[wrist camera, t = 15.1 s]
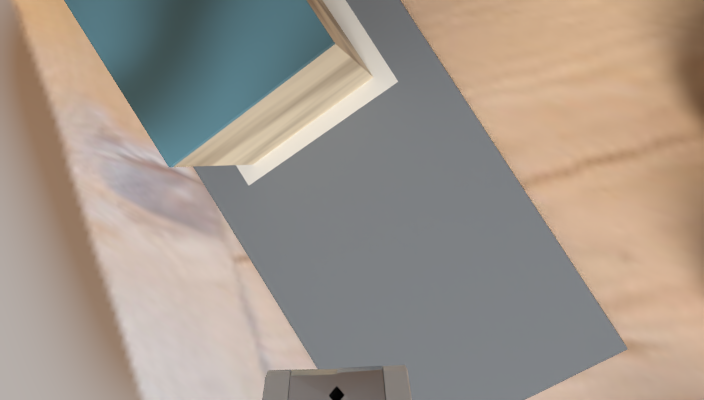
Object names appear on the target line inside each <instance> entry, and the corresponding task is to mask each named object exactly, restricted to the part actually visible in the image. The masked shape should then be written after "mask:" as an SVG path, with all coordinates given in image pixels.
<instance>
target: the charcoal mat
mask: <svg viewBox="0 0 704 400" xmlns="http://www.w3.org/2000/svg"><path fill="white" fill-rule="evenodd" d="M323 2H324V3H325V5H326V6H327V8H328V9H329V11H330V12H331V14H332V15H333V17H334V18H335V20H336V21H337V23H338V24H339V26H340V27H341V29H342V30H343V32H344V33H345V35H346V36H347V38H348V39H349V41H350V42H351V44H352V45H353V47H354V48H355V50H356V51H357V53H358V55H359V56H360V58H361V59H362V61H363V62H364V64H365V65H366V67H367V68H368V70H369V71H370V73H371V74H372V76H373V78H372V79H370V80H369V81H368V82H366V83H365V84H363V85H362V86H361V87H359V88H358V89H357V90H355V91H354V92H352V93H351V94H350V95H348V96H347V97H345V98H344V99H343V100H341V101H340V102H339V103H337V104H336V105H334V106H333V107H332V108H330V109H329V110H328V111H326V112H325V113H323V114H322V115H321V116H319V117H318V118H317V119H315V120H314V121H312V122H311V123H310V124H308V125H307V126H306V127H304V128H303V129H301V130H300V131H299V132H297V133H296V134H294V135H293V136H292V137H290V138H289V139H288V140H286V141H285V142H283V143H282V144H281V145H279V146H278V147H277V148H275V149H274V150H272V151H271V152H270V153H268V154H267V155H266V156H264V157H263V158H261V159H260V160H259V161H257V162H256V163H254V164H253V165H225V166H194V169H195V170H196V172H197V174H198V175H199V177H200V179H201V180H202V182H203V183H204V185H205V187H206V188H207V190H208V192H209V193H210V195H211V196H212V198H213V200H214V201H215V203H216V205H217V206H218V208H219V209H220V211H221V213H222V214H223V216H224V218H225V219H226V221H227V222H228V224H229V226H230V227H231V229H232V230H233V232H234V234H235V235H236V237H237V239H238V240H239V242H240V243H241V245H242V247H243V248H244V250H245V252H246V253H247V255H248V256H249V258H250V260H251V261H252V263H253V265H254V266H255V268H256V269H257V271H258V273H259V274H260V276H261V278H262V279H263V281H264V282H265V284H266V286H267V287H268V289H269V290H270V292H271V294H272V295H273V297H274V299H275V300H276V302H277V303H278V305H279V307H280V308H281V310H282V312H283V313H284V315H285V316H286V318H287V320H288V321H289V323H290V325H291V326H292V328H293V329H294V331H295V333H296V334H297V336H298V338H299V339H300V341H301V342H302V344H303V346H304V347H305V349H306V350H307V352H308V354H309V355H310V357H311V359H312V360H313V362H314V363H315V365H316V367H317V368H318V369H337V368H347V367H364V366H382V367H383V366H395V365H405V366H406V368H407V370H408V377H409V384H410V391H411V398H412V400H525V399H527V398H529V397H531V396H533V395H535V394H537V393H539V392H542V391H544V390H546V389H548V388H550V387H552V386H554V385H556V384H558V383H560V382H562V381H564V380H566V379H568V378H570V377H572V376H574V375H576V374H578V373H580V372H582V371H584V370H586V369H588V368H590V367H592V366H594V365H596V364H598V363H600V362H603V361H605V360H607V359H609V358H611V357H613V356H615V355H617V354H619V353H621V352H623V351H625V350H627V347H626V345H625V344H624V342H623V341H622V339H621V338H620V336H619V335H618V333H617V332H616V330H615V329H614V327H613V326H612V324H611V322H610V321H609V319H608V318H607V316H606V315H605V313H604V312H603V310H602V309H601V307H600V306H599V304H598V303H597V301H596V300H595V298H594V296H593V295H592V293H591V292H590V290H589V289H588V287H587V286H586V284H585V283H584V281H583V280H582V278H581V277H580V275H579V274H578V272H577V270H576V269H575V267H574V266H573V264H572V263H571V261H570V260H569V258H568V257H567V255H566V254H565V252H564V251H563V249H562V247H561V246H560V244H559V243H558V241H557V240H556V238H555V237H554V235H553V234H552V232H551V231H550V229H549V228H548V226H547V225H546V223H545V221H544V220H543V218H542V217H541V215H540V214H539V212H538V211H537V209H536V208H535V206H534V205H533V203H532V202H531V200H530V198H529V197H528V195H527V194H526V192H525V191H524V189H523V188H522V186H521V185H520V183H519V182H518V180H517V179H516V177H515V176H514V174H513V172H512V171H511V169H510V168H509V166H508V165H507V163H506V162H505V160H504V159H503V157H502V156H501V154H500V153H499V151H498V150H497V148H496V146H495V145H494V143H493V142H492V140H491V139H490V137H489V136H488V134H487V133H486V131H485V130H484V128H483V127H482V125H481V123H480V122H479V120H478V119H477V117H476V116H475V114H474V113H473V111H472V110H471V108H470V107H469V105H468V104H467V102H466V101H465V99H464V97H463V96H462V94H461V93H460V91H459V90H458V88H457V87H456V85H455V84H454V82H453V81H452V79H451V78H450V76H449V75H448V73H447V71H446V70H445V68H444V67H443V65H442V64H441V62H440V61H439V59H438V58H437V56H436V55H435V53H434V52H433V50H432V48H431V47H430V45H429V44H428V42H427V41H426V39H425V38H424V36H423V35H422V33H421V32H420V30H419V29H418V27H417V26H416V24H415V22H414V21H413V19H412V18H411V16H410V15H409V13H408V12H407V10H406V9H405V7H404V6H403V4H402V3H401V1H400V0H323Z"/></svg>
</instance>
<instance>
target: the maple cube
mask: <svg viewBox="0 0 704 400" xmlns="http://www.w3.org/2000/svg"><path fill="white" fill-rule="evenodd" d="M64 1H65V2H66V4H67V6H68V7H69V9H70V10H71V12H72V14H73V15H74V17H75V18H76V20H77V21H78V23H79V25H80V26H81V28H82V29H83V31H84V33H85V34H86V36H87V37H88V39H89V41H90V42H91V44H92V45H93V47H94V49H95V50H96V52H97V53H98V55H99V56H100V58H101V60H102V61H103V63H104V64H105V66H106V68H107V69H108V71H109V72H110V74H111V76H112V77H113V79H114V80H115V82H116V84H117V85H118V87H119V88H120V90H121V91H122V93H123V95H124V96H125V98H126V99H127V101H128V103H129V104H130V106H131V107H132V109H133V111H134V112H135V114H136V115H137V117H138V119H139V120H140V122H141V123H142V125H143V126H144V128H145V130H146V131H147V133H148V134H149V136H150V138H151V139H152V141H153V142H154V144H155V146H156V147H157V149H158V150H159V152H160V154H161V155H162V157H163V158H164V160H165V161H166V163H167V165H168V166H169V167H194V166H225V165H253V164H254V163H256V162H257V161H259V160H260V159H261V158H263V157H264V156H266V155H267V154H268V153H270V152H271V151H272V150H274V149H275V148H277V147H278V146H279V145H281V144H282V143H283V142H285V141H286V140H288V139H289V138H290V137H292V136H293V135H294V134H296V133H297V132H299V131H300V130H301V129H303V128H304V127H306V126H307V125H308V124H310V123H311V122H312V121H314V120H315V119H317V118H318V117H319V116H321V115H322V114H323V113H325V112H326V111H328V110H329V109H330V108H332V107H333V106H334V105H336V104H337V103H339V102H340V101H341V100H343V99H344V98H345V97H347V96H348V95H350V94H351V93H352V92H354V91H355V90H357V89H358V88H359V87H361V86H362V85H363V84H365V83H366V82H368V81H369V80H370V79H372V78H373V76H372V74H371V73H370V71H369V70H368V68H367V67H366V65H365V64H364V62H363V61H362V59H361V58H360V56H359V55H358V53H357V51H356V50H355V48H354V47H353V45H352V44H351V42H350V41H349V39H348V38H347V36H346V35H345V33H344V32H343V30H342V29H341V27H340V26H339V24H338V23H337V21H336V20H335V18H334V17H333V15H332V14H331V12H330V11H329V9H328V8H327V6H326V5H325V3H324V2H323V0H64Z"/></svg>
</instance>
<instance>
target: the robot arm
mask: <svg viewBox="0 0 704 400" xmlns="http://www.w3.org/2000/svg"><path fill="white" fill-rule="evenodd" d="M262 400H412V398H411V391H410V384H409V377H408V370H407V368H406V366H405V365H395V366H383V367H382V366H364V367H347V368H337V369H310V370H270V371H268V372H267V375H266V378H265V384H264V391H263V398H262Z"/></svg>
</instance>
